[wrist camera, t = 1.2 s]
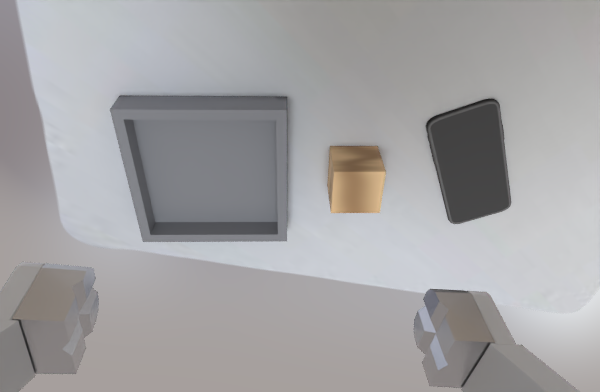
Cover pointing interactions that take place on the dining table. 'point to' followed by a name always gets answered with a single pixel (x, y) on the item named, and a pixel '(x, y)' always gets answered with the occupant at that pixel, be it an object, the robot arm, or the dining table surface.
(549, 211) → the dining table surface
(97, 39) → the dining table surface
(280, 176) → the sorting tray
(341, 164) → the oversize block
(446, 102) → the dining table surface
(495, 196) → the smartphone
